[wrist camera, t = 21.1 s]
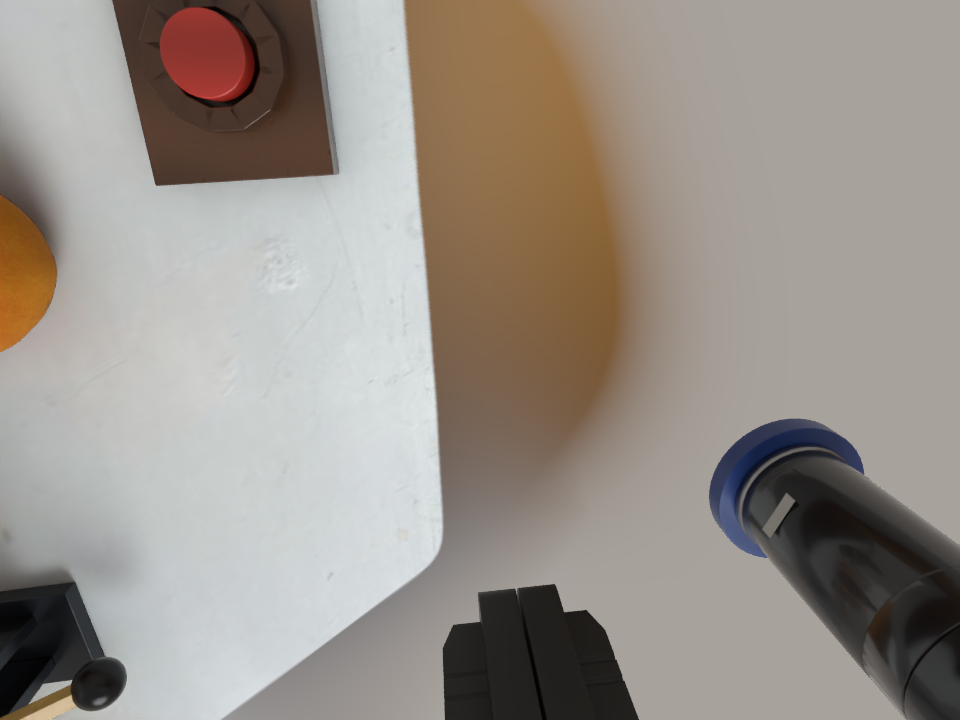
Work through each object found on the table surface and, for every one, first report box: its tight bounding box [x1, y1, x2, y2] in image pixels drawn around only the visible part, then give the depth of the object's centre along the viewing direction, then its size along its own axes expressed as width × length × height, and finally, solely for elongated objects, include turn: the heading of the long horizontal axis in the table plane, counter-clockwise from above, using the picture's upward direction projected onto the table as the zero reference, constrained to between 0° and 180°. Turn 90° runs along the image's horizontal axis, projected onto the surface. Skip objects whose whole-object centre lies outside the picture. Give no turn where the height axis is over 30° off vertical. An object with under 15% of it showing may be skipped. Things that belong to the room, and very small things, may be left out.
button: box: [160, 7, 255, 102], centre depth 29 cm, size 4×4×2 cm
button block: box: [112, 0, 339, 186], centre depth 31 cm, size 12×10×4 cm
